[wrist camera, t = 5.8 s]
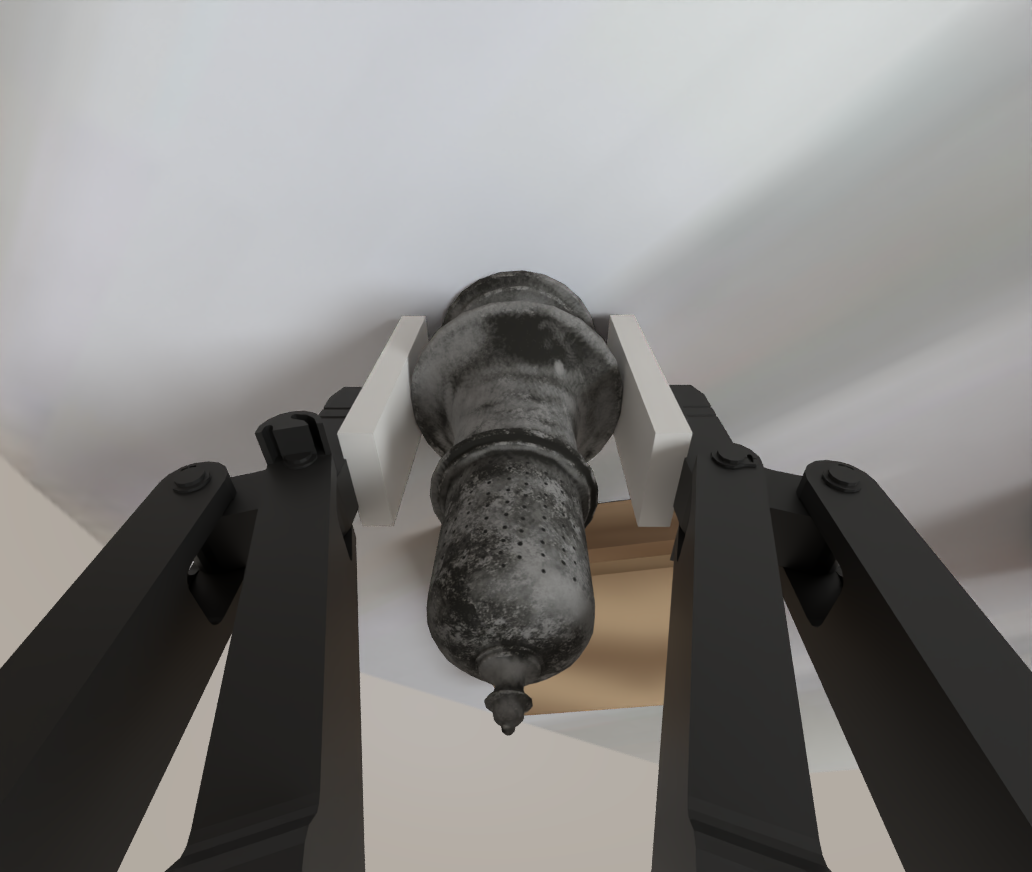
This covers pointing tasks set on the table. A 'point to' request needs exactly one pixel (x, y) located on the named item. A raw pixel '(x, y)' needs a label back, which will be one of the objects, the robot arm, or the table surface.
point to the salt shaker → (514, 479)
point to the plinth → (619, 619)
